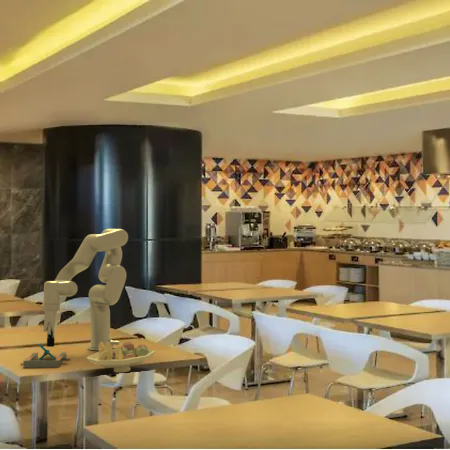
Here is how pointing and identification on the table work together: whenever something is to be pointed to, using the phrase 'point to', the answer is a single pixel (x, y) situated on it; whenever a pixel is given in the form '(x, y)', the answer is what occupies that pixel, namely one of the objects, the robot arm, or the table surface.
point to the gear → (46, 353)
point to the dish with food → (120, 356)
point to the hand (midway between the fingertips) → (50, 346)
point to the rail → (44, 361)
